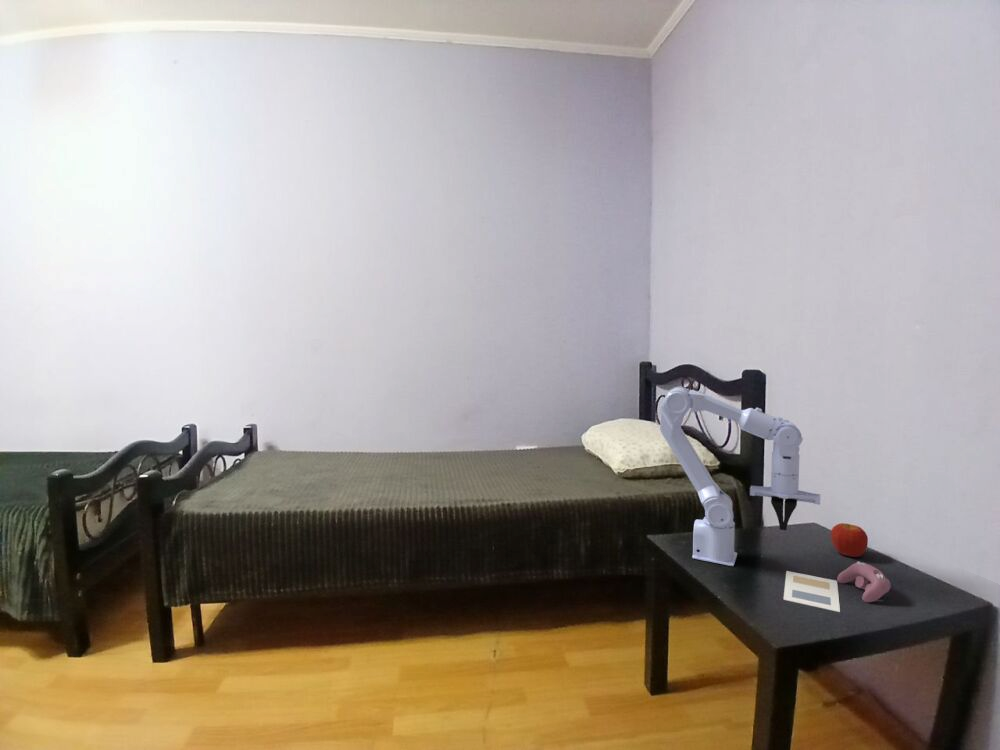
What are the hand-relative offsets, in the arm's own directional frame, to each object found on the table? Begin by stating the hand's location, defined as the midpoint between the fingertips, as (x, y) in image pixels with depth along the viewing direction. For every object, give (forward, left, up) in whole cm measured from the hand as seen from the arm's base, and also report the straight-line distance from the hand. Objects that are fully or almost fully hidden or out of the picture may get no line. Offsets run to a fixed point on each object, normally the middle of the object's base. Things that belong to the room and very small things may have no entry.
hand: (783, 528), depth 124 cm
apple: (+14, +16, -10) cm, 23 cm away
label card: (+6, -10, -9) cm, 15 cm away
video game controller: (+16, -5, -10) cm, 19 cm away
